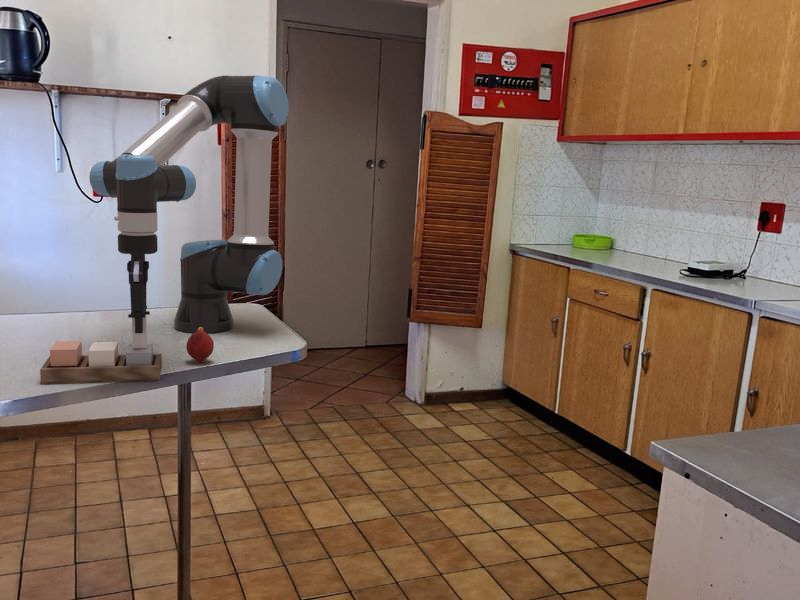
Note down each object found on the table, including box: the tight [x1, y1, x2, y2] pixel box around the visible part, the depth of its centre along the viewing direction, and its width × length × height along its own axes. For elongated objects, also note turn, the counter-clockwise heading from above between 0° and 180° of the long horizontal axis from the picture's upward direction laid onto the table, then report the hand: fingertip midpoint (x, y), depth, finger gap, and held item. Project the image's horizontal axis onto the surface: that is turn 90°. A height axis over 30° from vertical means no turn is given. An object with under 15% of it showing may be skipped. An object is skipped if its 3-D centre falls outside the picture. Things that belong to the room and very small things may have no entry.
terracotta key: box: [49, 340, 83, 366], centre depth 149 cm, size 5×7×3 cm
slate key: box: [125, 343, 154, 366], centre depth 153 cm, size 5×7×3 cm
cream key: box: [87, 341, 119, 367], centre depth 151 cm, size 5×7×3 cm
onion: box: [185, 327, 215, 363], centre depth 163 cm, size 6×6×8 cm
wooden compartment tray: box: [39, 353, 163, 385], centre depth 151 cm, size 22×10×3 cm, turn 105°
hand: (139, 347), depth 152 cm, fingers closed
